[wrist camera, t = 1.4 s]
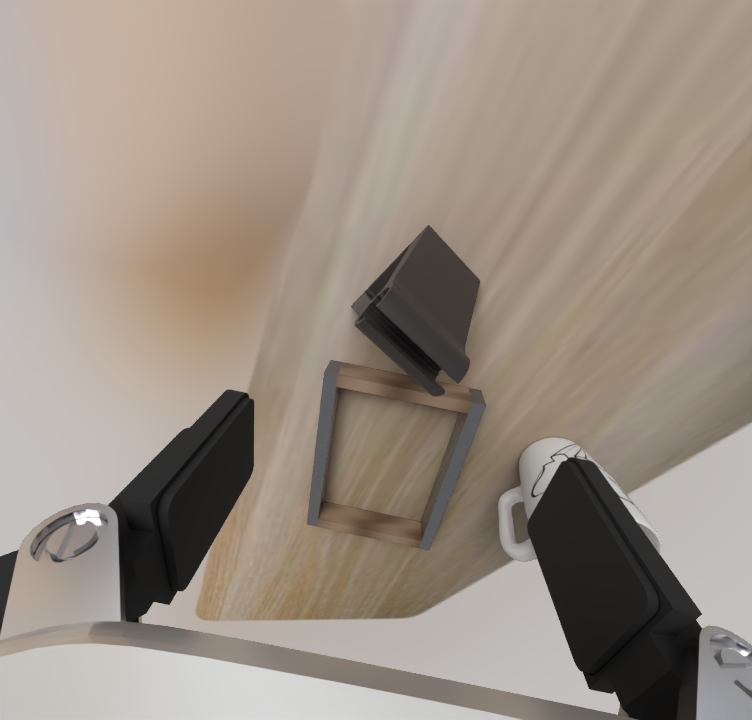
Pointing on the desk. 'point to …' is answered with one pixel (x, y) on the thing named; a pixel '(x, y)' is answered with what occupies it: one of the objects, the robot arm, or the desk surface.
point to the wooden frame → (460, 441)
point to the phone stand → (422, 311)
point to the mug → (535, 477)
